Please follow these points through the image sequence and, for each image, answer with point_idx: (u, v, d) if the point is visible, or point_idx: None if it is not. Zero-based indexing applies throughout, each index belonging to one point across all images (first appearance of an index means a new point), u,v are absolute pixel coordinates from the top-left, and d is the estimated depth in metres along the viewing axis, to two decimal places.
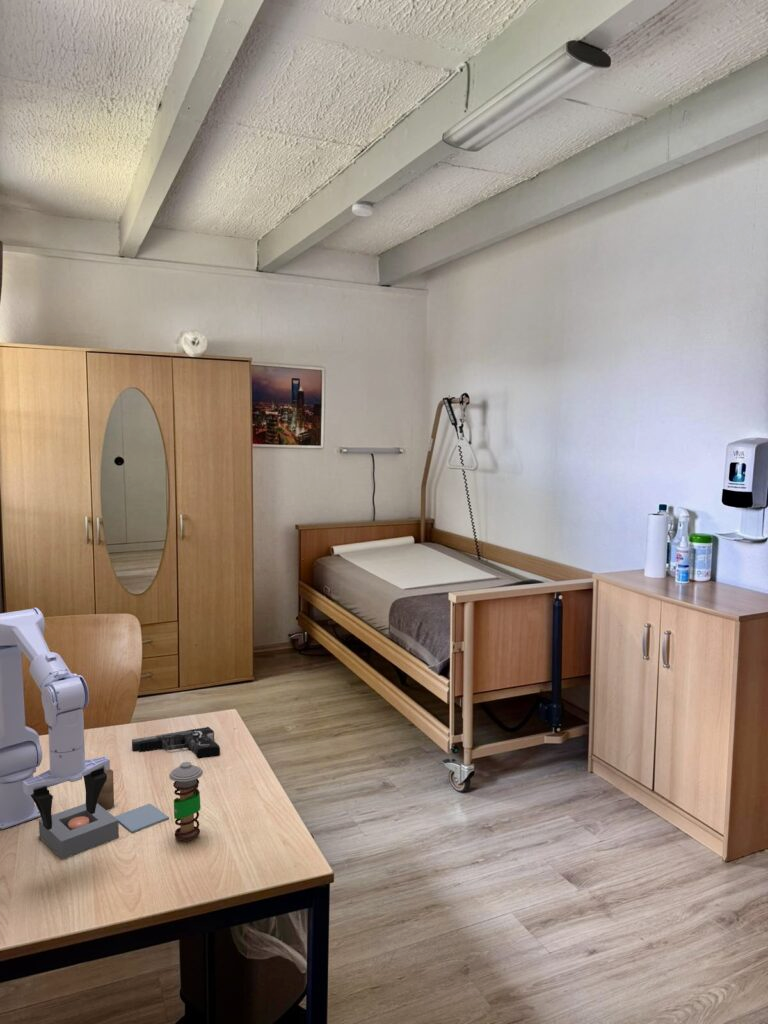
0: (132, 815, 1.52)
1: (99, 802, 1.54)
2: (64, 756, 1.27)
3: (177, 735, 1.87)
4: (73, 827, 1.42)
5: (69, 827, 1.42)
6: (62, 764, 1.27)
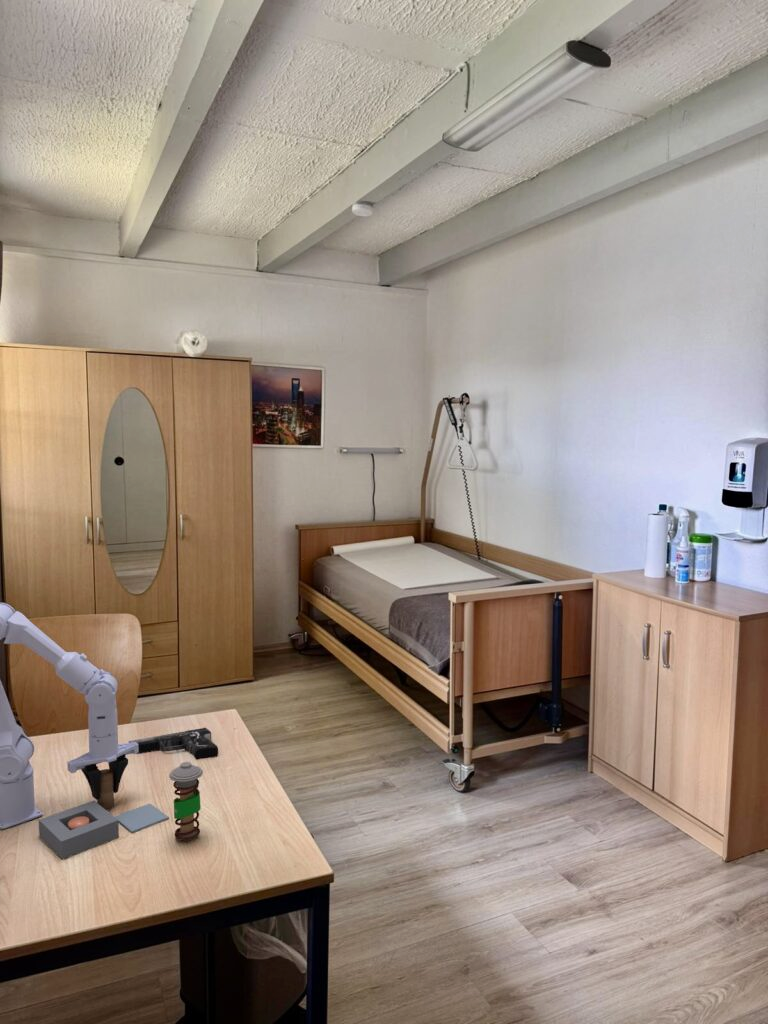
0: (132, 815, 1.52)
1: (99, 802, 1.54)
2: (101, 741, 1.52)
3: (174, 736, 1.86)
4: (73, 827, 1.42)
5: (69, 827, 1.42)
6: (100, 747, 1.52)
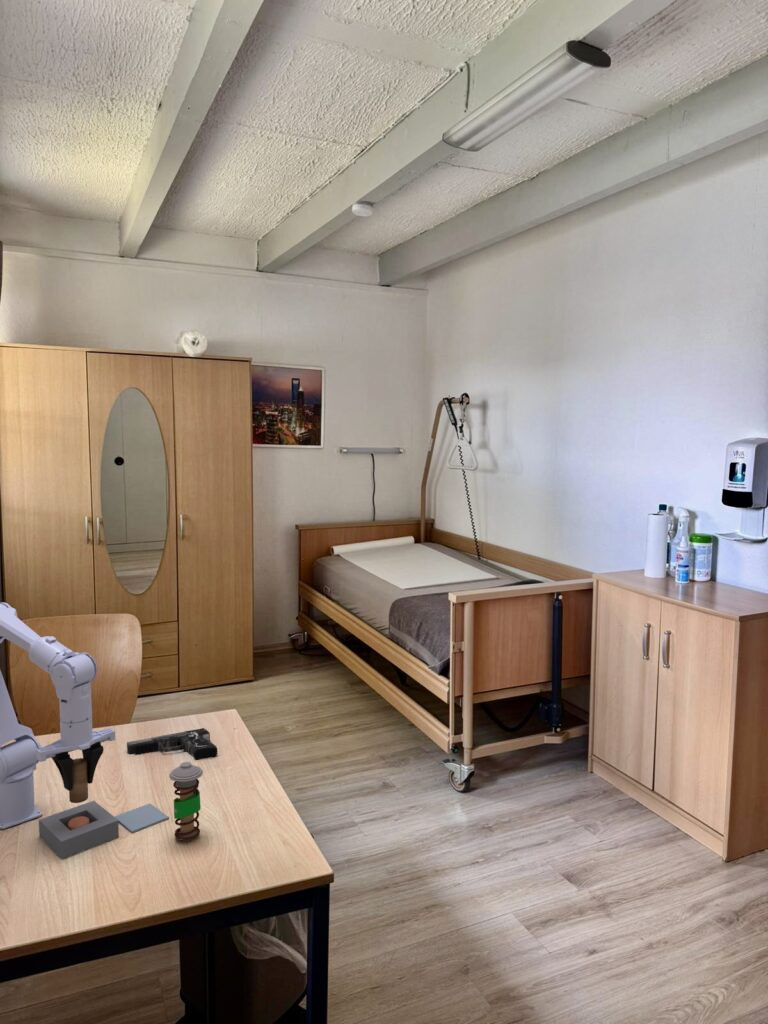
0: (132, 815, 1.52)
1: (71, 794, 1.42)
2: (73, 727, 1.39)
3: (173, 737, 1.86)
4: (73, 827, 1.42)
5: (69, 827, 1.42)
6: (72, 733, 1.40)
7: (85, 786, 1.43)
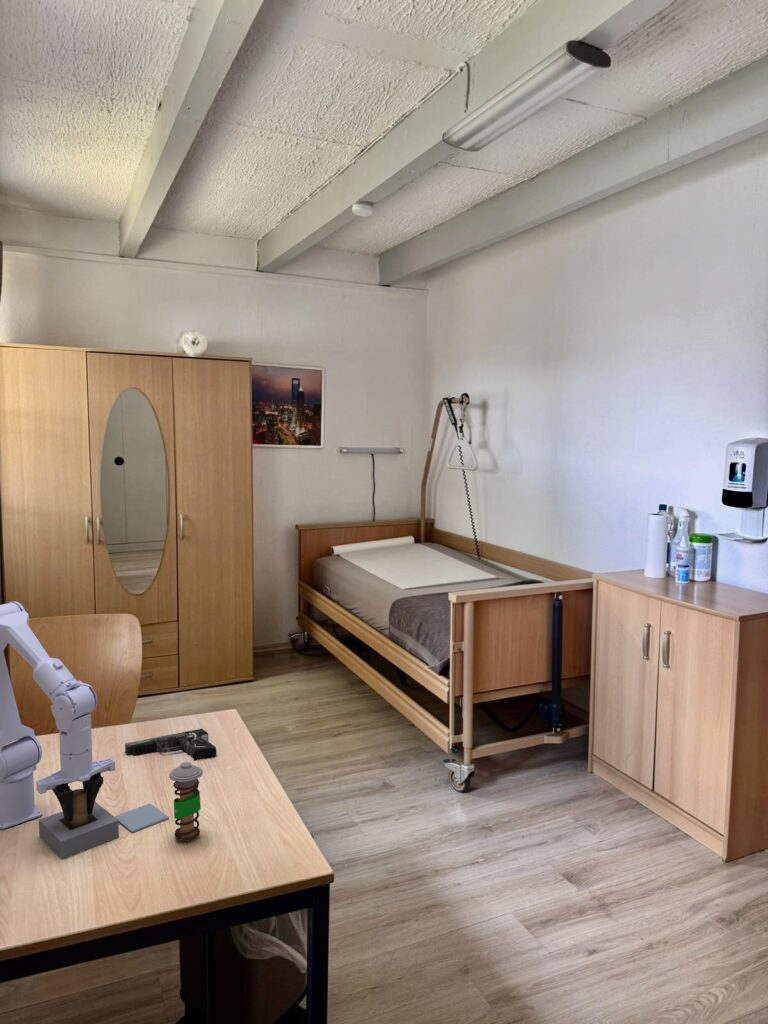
0: (132, 815, 1.52)
1: (71, 825, 1.42)
2: (73, 758, 1.40)
3: (171, 738, 1.85)
4: None
5: None
6: (72, 765, 1.40)
7: (85, 817, 1.43)
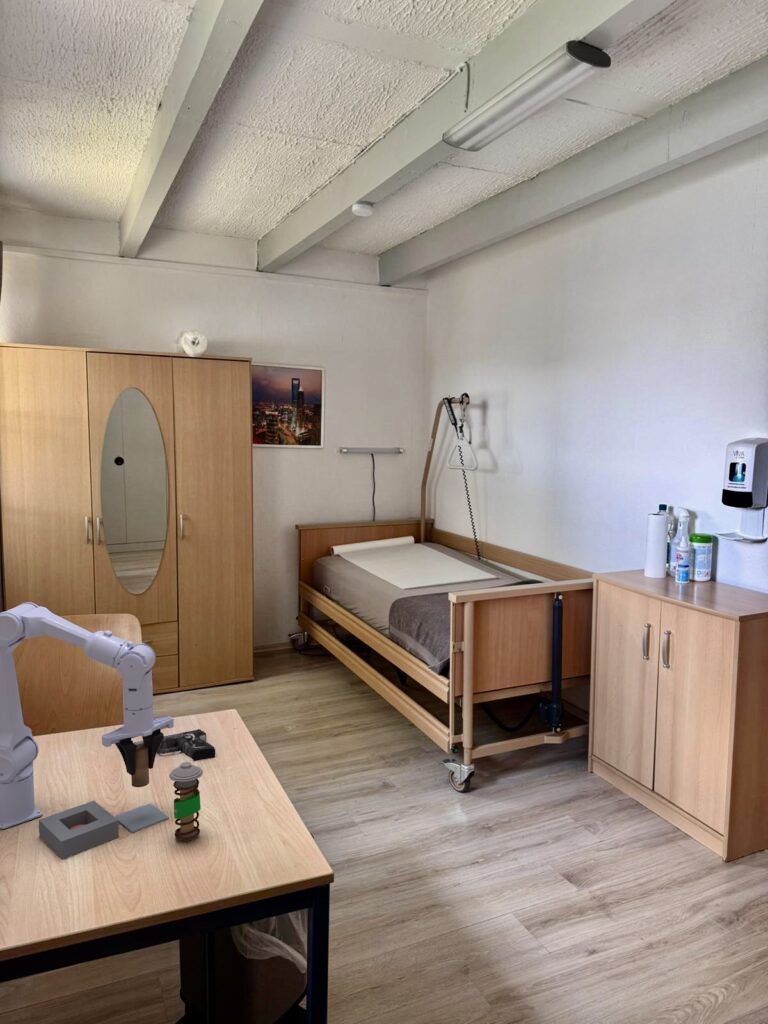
0: (132, 815, 1.52)
1: (134, 778, 1.49)
2: (137, 714, 1.46)
3: (169, 738, 1.85)
4: None
5: None
6: (135, 720, 1.46)
7: (147, 771, 1.50)
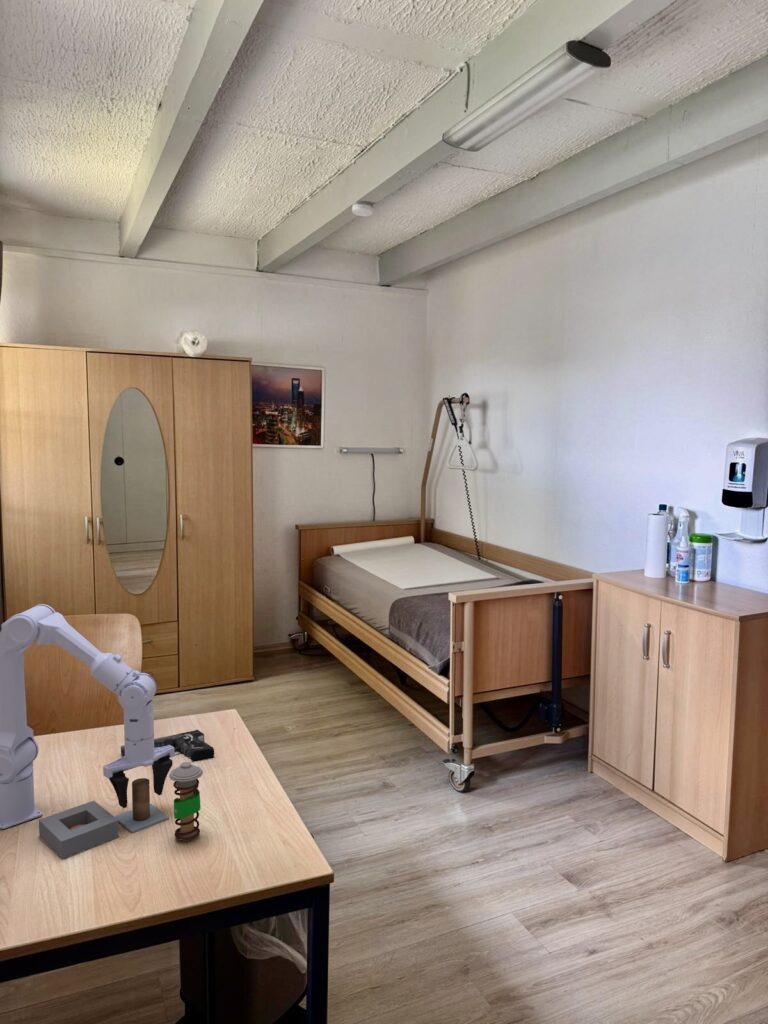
0: (132, 815, 1.52)
1: (135, 812, 1.49)
2: (138, 744, 1.47)
3: (167, 739, 1.84)
4: None
5: None
6: (136, 751, 1.47)
7: (148, 805, 1.50)
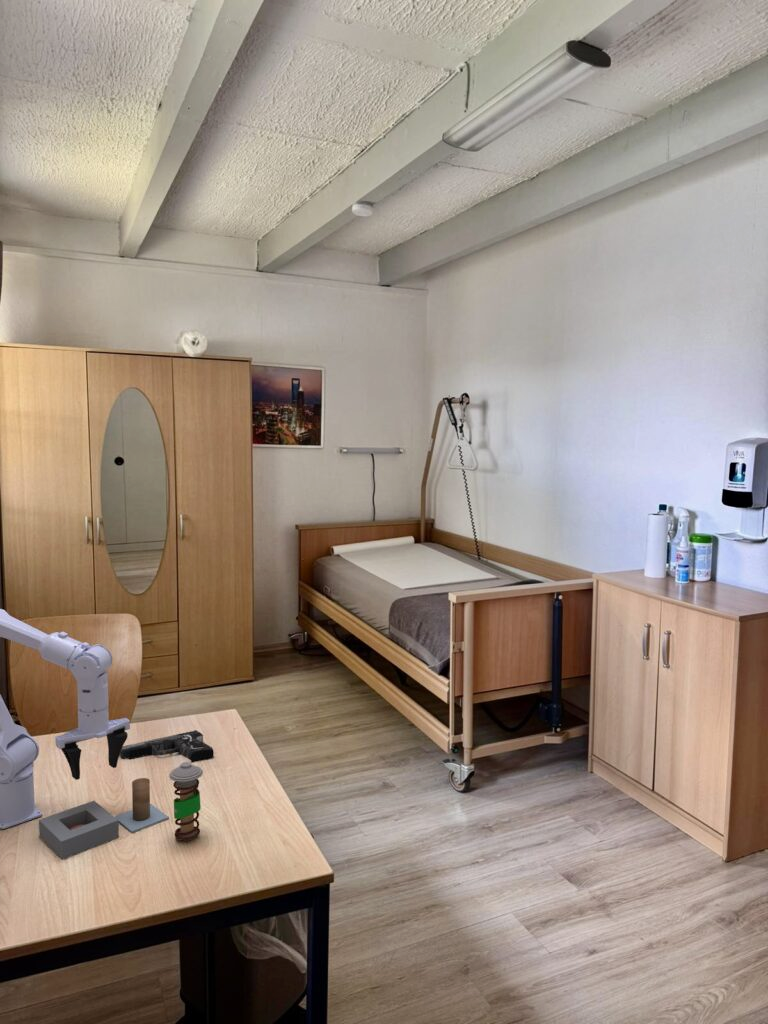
0: (132, 815, 1.52)
1: (135, 812, 1.49)
2: (91, 716, 1.46)
3: (166, 740, 1.84)
4: None
5: None
6: (90, 722, 1.46)
7: (148, 805, 1.50)
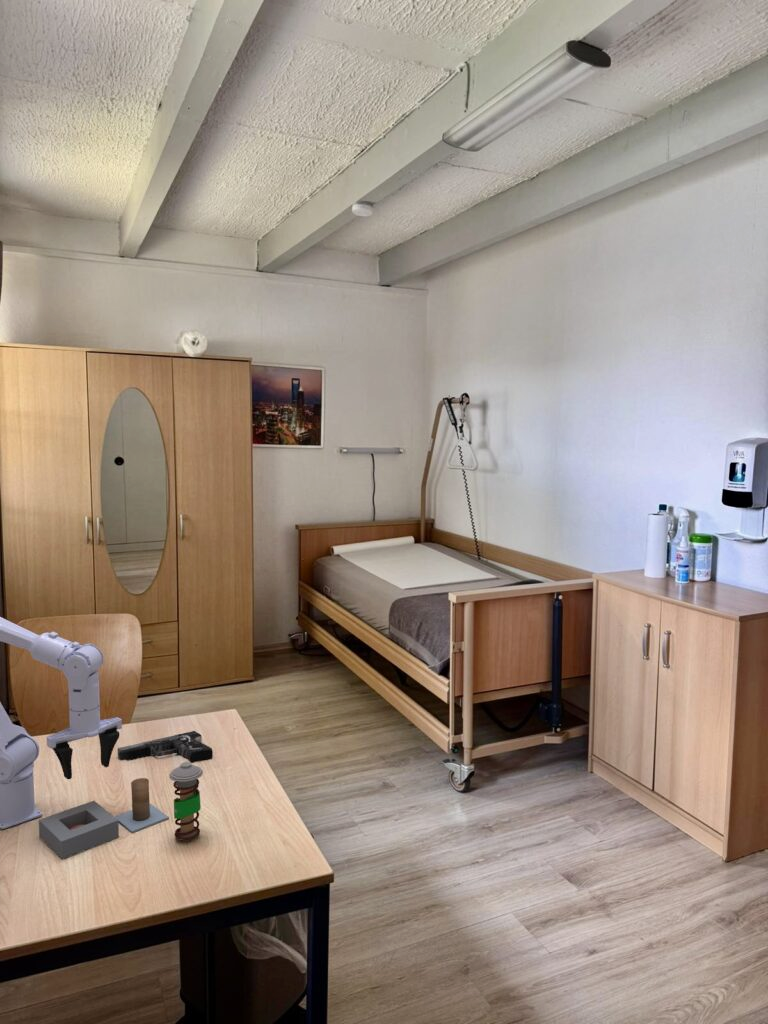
0: (132, 815, 1.52)
1: (135, 812, 1.49)
2: (82, 715, 1.45)
3: (165, 741, 1.83)
4: None
5: None
6: (81, 721, 1.46)
7: (147, 805, 1.50)
